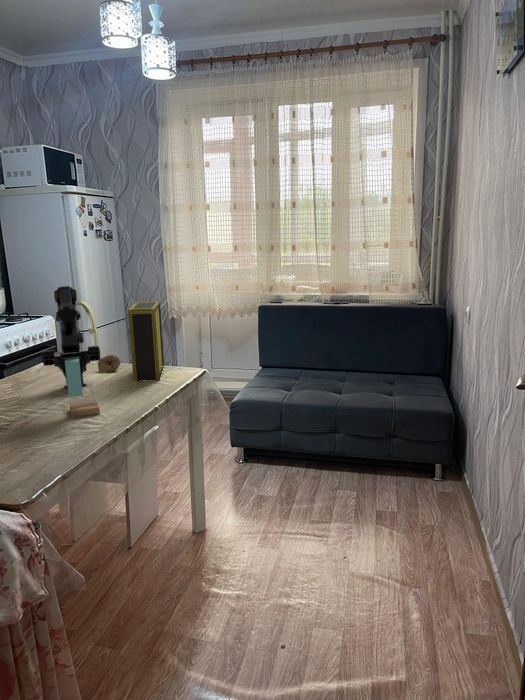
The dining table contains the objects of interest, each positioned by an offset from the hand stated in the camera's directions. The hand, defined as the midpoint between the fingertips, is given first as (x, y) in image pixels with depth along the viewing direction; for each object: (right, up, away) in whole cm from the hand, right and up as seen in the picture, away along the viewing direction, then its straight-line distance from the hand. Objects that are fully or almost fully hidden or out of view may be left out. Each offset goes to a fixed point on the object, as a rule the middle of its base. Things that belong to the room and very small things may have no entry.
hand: (73, 376), depth 178 cm
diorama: (+15, -2, +50) cm, 52 cm away
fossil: (-4, 0, +57) cm, 57 cm away
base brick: (+2, -12, +5) cm, 14 cm away
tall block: (0, -6, +3) cm, 7 cm away
